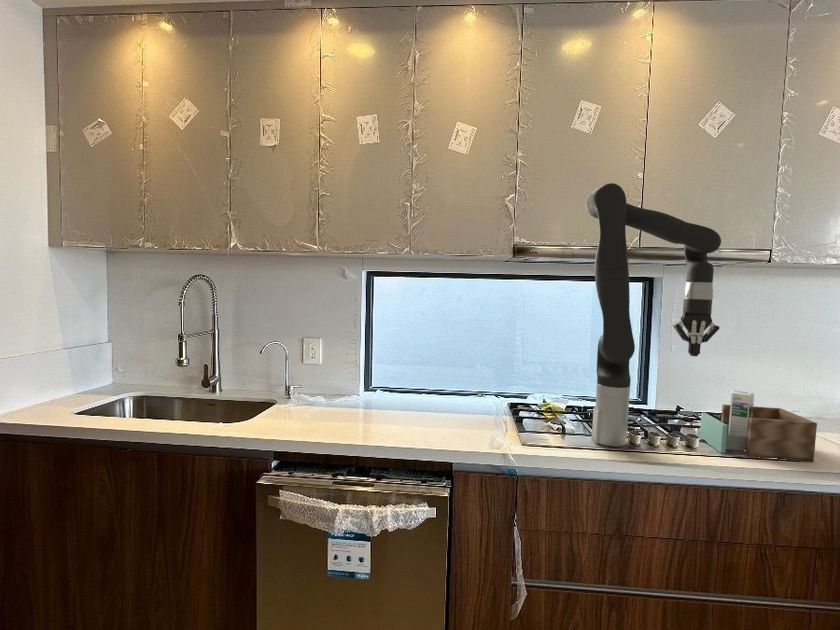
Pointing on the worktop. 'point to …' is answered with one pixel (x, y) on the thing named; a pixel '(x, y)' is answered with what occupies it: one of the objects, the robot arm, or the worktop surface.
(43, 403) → the worktop surface
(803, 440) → the wooden storage crate
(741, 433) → the syrup box
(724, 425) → the mint green drawer
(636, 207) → the robot arm
